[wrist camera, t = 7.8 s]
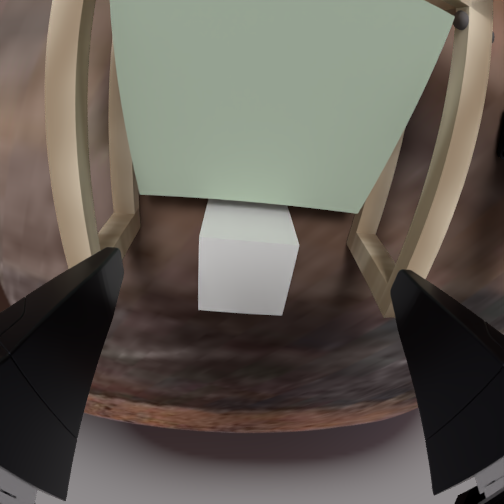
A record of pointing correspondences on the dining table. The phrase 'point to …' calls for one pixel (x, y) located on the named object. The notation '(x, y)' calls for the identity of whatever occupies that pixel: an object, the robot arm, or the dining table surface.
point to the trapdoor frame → (365, 222)
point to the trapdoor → (271, 94)
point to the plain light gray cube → (245, 257)
